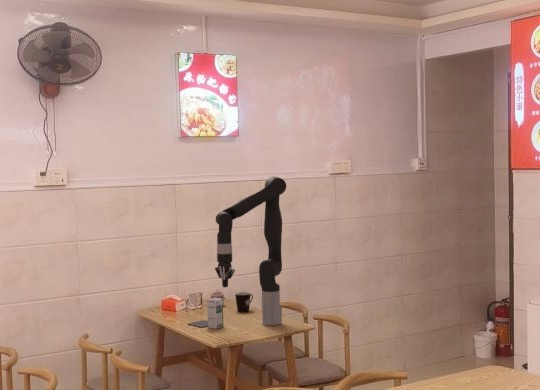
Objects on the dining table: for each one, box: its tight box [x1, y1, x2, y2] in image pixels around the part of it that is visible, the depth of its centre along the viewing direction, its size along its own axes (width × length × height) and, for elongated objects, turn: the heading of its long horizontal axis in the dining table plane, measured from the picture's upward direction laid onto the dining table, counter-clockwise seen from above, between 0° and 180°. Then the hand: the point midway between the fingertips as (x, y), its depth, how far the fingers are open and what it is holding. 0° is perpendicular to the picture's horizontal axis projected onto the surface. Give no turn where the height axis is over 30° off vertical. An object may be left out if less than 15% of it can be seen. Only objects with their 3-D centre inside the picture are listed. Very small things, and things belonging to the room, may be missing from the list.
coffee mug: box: [234, 291, 254, 314], centre depth 392 cm, size 12×9×10 cm
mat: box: [187, 319, 209, 329], centre depth 361 cm, size 12×11×1 cm
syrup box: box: [206, 298, 225, 330], centre depth 354 cm, size 6×6×14 cm
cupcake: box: [209, 288, 226, 305], centre depth 409 cm, size 9×9×10 cm
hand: (225, 287), depth 348 cm, fingers closed
